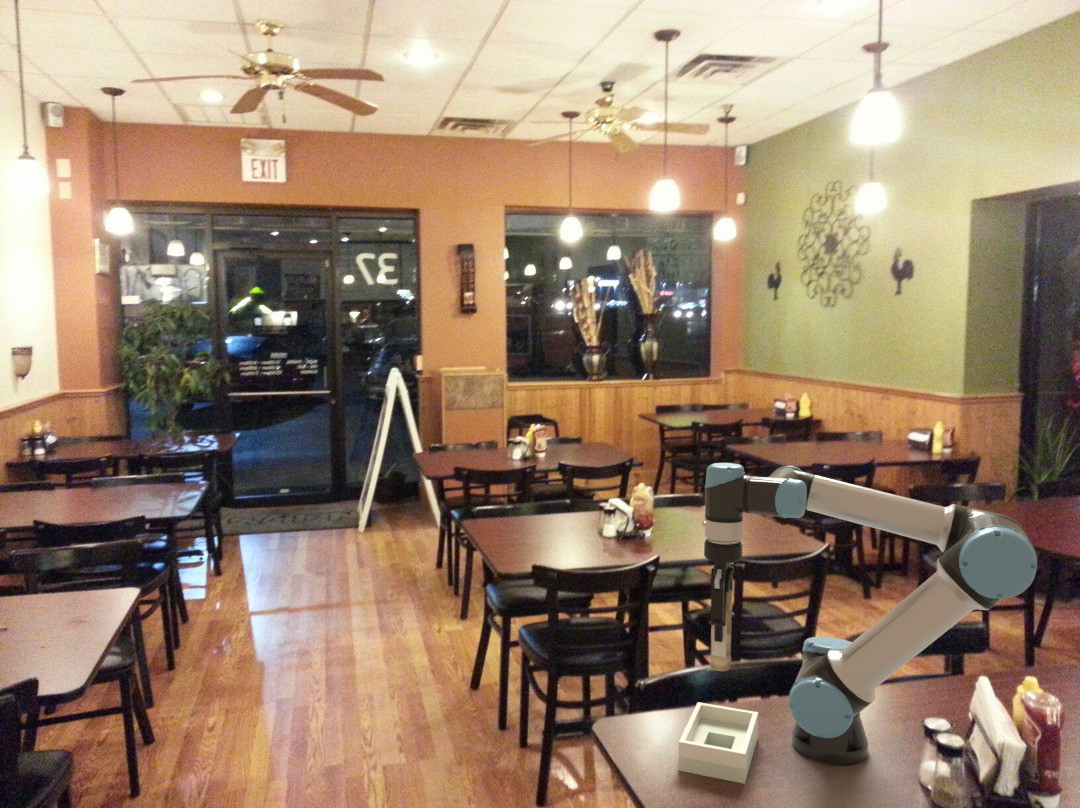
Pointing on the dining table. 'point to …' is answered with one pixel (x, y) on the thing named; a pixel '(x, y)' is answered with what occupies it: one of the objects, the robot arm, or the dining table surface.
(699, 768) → the bore tray
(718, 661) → the peg
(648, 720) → the dining table surface
